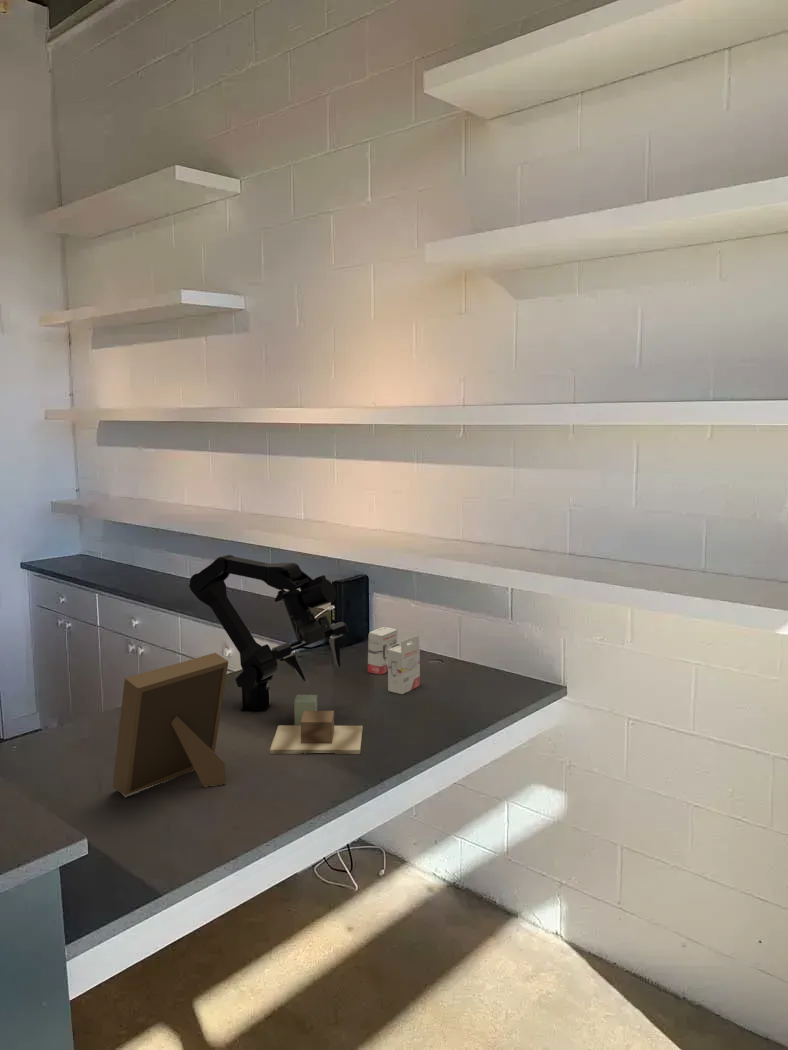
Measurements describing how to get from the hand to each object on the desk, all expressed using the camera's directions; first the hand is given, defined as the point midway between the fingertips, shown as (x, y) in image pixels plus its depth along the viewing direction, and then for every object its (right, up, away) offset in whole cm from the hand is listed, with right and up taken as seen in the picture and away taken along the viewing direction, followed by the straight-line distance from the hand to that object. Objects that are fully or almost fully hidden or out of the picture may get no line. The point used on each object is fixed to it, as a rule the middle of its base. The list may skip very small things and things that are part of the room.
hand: (321, 673), depth 206 cm
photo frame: (-26, -17, -33) cm, 45 cm away
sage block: (-4, -12, +1) cm, 12 cm away
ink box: (+14, -6, +40) cm, 43 cm away
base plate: (0, -14, -11) cm, 18 cm away
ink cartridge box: (+20, -9, +24) cm, 33 cm away
